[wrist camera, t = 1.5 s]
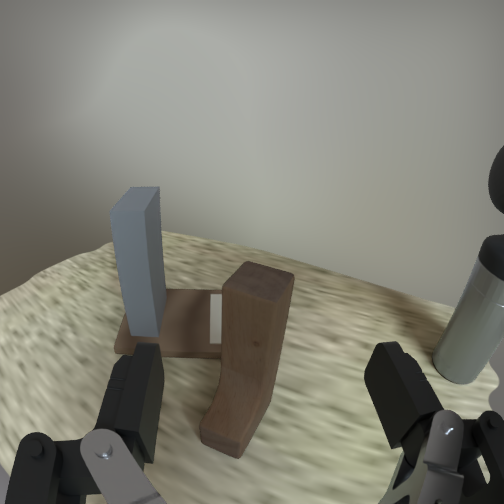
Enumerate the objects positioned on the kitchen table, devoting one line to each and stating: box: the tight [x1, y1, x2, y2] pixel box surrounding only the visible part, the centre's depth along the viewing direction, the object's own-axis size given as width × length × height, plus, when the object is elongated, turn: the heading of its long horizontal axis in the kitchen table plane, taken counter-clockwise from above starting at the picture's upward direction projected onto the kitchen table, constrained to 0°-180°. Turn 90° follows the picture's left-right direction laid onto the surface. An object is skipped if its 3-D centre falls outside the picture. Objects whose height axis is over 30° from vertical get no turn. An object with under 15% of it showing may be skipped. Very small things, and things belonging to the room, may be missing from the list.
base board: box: [114, 289, 222, 358], centre depth 44 cm, size 22×14×1 cm, turn 95°
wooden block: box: [199, 261, 294, 459], centre depth 26 cm, size 9×4×18 cm, turn 156°
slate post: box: [110, 187, 167, 337], centre depth 39 cm, size 4×9×18 cm, turn 5°
